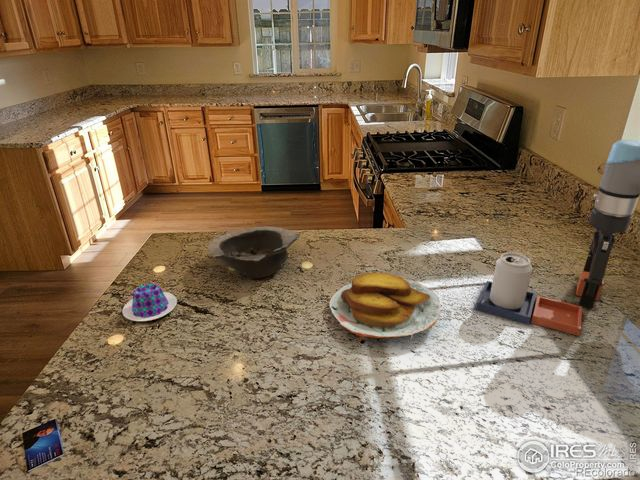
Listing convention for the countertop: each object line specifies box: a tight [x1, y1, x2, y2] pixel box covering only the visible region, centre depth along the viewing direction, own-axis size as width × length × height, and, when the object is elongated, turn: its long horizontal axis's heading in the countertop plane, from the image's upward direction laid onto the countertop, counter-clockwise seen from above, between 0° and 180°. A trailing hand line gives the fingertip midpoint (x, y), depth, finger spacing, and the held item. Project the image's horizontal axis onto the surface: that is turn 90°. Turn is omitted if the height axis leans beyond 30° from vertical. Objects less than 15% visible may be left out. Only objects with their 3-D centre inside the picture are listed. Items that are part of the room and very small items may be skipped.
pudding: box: [122, 283, 178, 322], centre depth 98 cm, size 12×12×5 cm
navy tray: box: [475, 280, 537, 325], centre depth 99 cm, size 11×11×2 cm
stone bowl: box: [206, 225, 301, 280], centre depth 117 cm, size 25×25×9 cm
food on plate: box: [328, 271, 443, 342], centre depth 96 cm, size 25×25×7 cm
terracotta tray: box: [530, 295, 583, 337], centre depth 95 cm, size 9×9×2 cm
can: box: [490, 252, 533, 310], centre depth 97 cm, size 8×8×12 cm
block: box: [575, 270, 604, 301], centre depth 103 cm, size 5×5×5 cm
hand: (586, 292), depth 104 cm, fingers open, 12 cm apart
